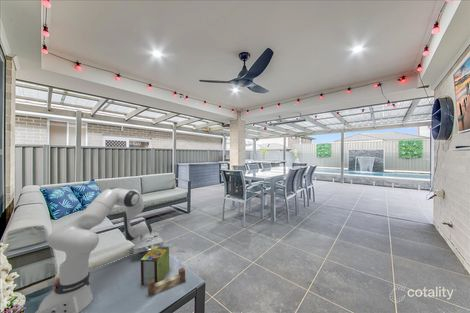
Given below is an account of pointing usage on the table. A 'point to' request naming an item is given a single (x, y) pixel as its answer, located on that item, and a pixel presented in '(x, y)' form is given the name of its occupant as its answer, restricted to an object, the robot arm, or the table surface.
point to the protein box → (155, 264)
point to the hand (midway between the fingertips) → (150, 250)
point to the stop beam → (166, 283)
